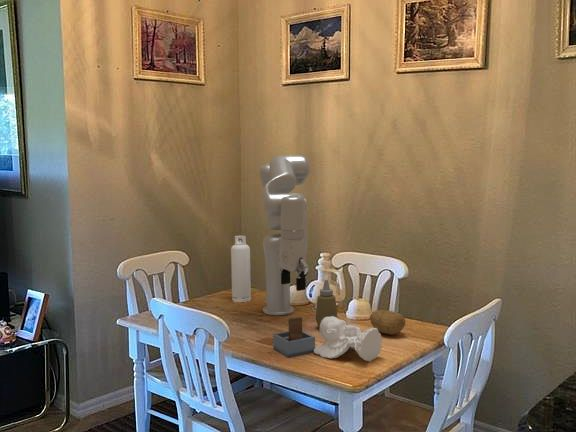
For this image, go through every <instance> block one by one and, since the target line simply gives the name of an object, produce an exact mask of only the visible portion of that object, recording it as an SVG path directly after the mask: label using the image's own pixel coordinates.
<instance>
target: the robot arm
mask: <svg viewBox="0 0 576 432" xmlns="http://www.w3.org/2000/svg"><path fill="white" fill-rule="evenodd" d="M309 174H310V163H309V160H308V158H307V157H306V156H304V155H302V154H287V155H286V154H285V155H284V154H283V155H281V154H280V155H277V156H274V157H273V158H271V160H270V162H269V163H266V164H263V165H261V167H260V169H259V180H260V183H261V185H262V187H263V189H262V195H261V196H262V198H261V199H262V206H263V210H264V213H265V214H266V224H267V228H268V229H270V230H272V231H280V233H270V234H267V235H266V236H265V237H264V239H263V242H262V243H263V245H262V246H263V252H264V253H263V254H264V257H265V258H264V259H265V260H264V261H265V281H266V282H265V284H266V286H265V287H266V289H265V290H266V291H265V293H266V298H265V300H264V302H265V303H266V306H264V307H263V308H262V312H263V313H264V314H266V315H268V316H269V315H270V316H286V315H291V314H293V313H294V312H295V307H293V306H292V305H291V273H294V272H295V274H296V277H297V278H296V279H295V283H296V285H295V287H296V291H297V292H300V291H305V290H306V289H307V284H306V283H307V282H306V280H307V277H308V274H309V273H308V271H309V268H310V267H309V264H308V263H307V251H308V217H307V212H306V210H307V207H308V202H307V198H305V196H304V194H302V193H300V192H299V193H297V192H294V193H293V191H294V189H295V188H296V186H301V185H303V184H304V183H305V182H306V180H307V178H308V177H309Z"/></svg>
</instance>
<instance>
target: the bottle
mask: <svg viewBox="0 0 576 432" xmlns="http://www.w3.org/2000/svg"><path fill="white" fill-rule="evenodd" d="M230 263H231V266H230V268H231V294H232V295H231V300H233V301H234V302H233V301H232V302H233V303H237V302H244V303H248V302H247V301H249V302H251V301H252V296H251V294H252V293H251V292H252V291H251V289H252V287H251V282H252V281H251V248H250V246H249V245H248V244H247V238H246V235H235V236H234V244H233V245H232V246H231V247H230ZM236 298H237V299H236ZM250 300H251V301H250Z"/></svg>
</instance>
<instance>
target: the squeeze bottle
mask: <svg viewBox="0 0 576 432" xmlns="http://www.w3.org/2000/svg"><path fill="white" fill-rule="evenodd" d="M322 287H323V288H320V289H319V295H318V296H317V298H316V299H317V300H316V309H315V321H316V325H317V327H318V329H319V330H320V323H321V321H322V320H323V319H324V318H325V317H331V316H334V317H336V318H338V310H337V309H338V308H337V301H336V296H335V295H334V293H333V292H334V289H331V288H330V284H329V279H324V283H323V286H322Z"/></svg>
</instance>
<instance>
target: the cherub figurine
mask: <svg viewBox="0 0 576 432" xmlns="http://www.w3.org/2000/svg"><path fill="white" fill-rule="evenodd" d="M319 334H320V336H321V337H322V338H323V339H324V341H325V342H324V343H322V344H320V345H318V346H315V349H314V352H313V354H315V355H317V356H318V355H320V357H322V358H324V359H325V358H327V359H337V358H339V357H340V356H342V355H344V354H345V353H346V352H347V351H348V350H355V351H356V353H357V354H358V356H359V357H360V358H361V359H362V360H364V361H366V362H369V363H370V362H372V361H374V360H376V359H377V358H378V356H379V354H381V351H382V348H383V346H382V342H383V337H382V335H381V332H379V331H378V329H377V328H374V327H372V328H369V329H368V328H367V329H366V330H364V332H363V331H362V330H361V328H360V327H359V326H356V325H353V324H347V322H346V320H343V319H339V318H338V317H337V318H336V317H334V316H331V317H325V318H324V319H323V320H322V321H321V323H320V329H319Z"/></svg>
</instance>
